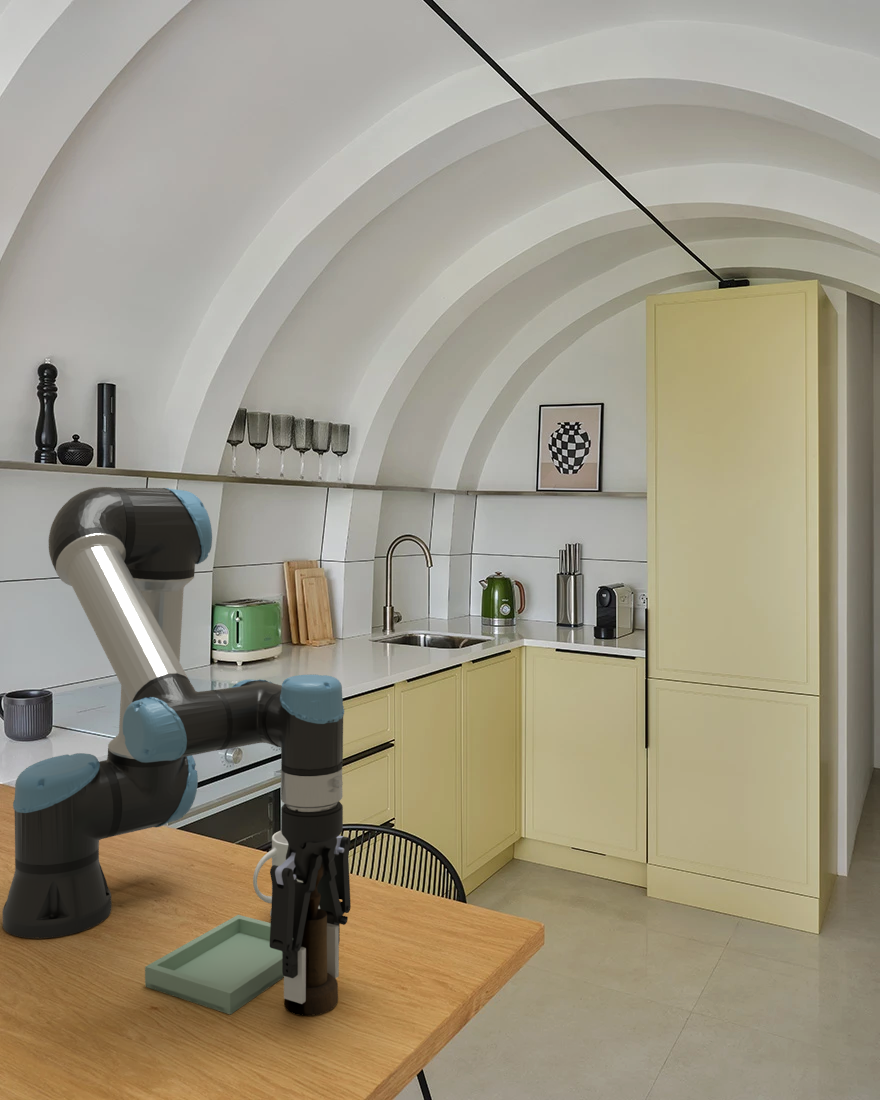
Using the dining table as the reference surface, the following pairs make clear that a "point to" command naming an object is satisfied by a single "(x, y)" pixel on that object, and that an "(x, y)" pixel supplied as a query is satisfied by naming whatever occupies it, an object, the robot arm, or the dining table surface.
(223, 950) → the tray
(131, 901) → the dining table surface
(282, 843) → the mug
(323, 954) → the wooden pepper mill
